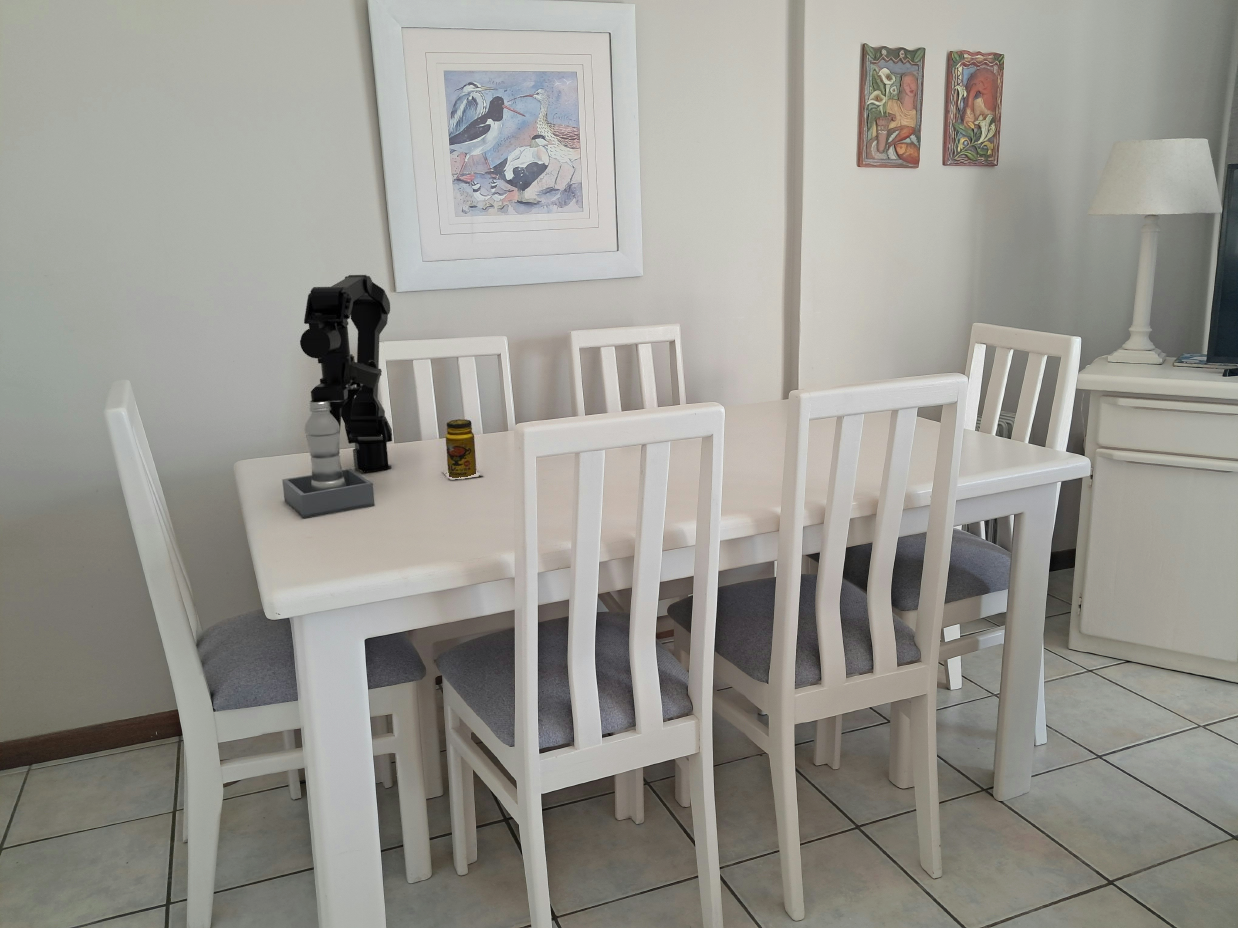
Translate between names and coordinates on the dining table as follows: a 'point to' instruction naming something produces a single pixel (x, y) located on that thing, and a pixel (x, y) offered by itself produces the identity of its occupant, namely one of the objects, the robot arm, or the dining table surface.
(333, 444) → the plastic bottle
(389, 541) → the dining table surface
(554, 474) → the dining table surface
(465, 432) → the condiment
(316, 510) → the tote
